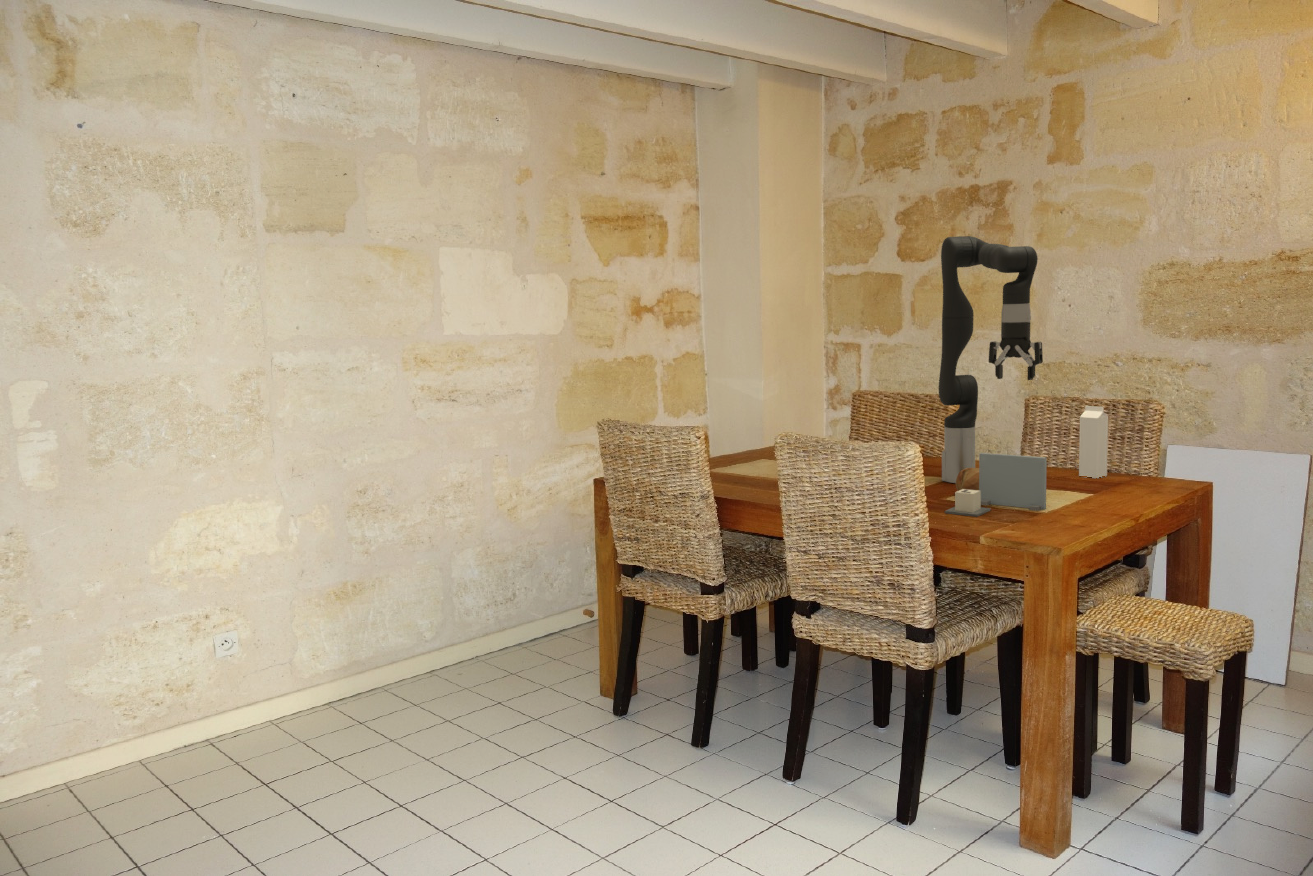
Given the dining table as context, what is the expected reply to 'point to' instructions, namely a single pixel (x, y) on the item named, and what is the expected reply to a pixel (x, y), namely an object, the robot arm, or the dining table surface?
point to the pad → (976, 513)
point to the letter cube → (968, 500)
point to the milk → (1093, 442)
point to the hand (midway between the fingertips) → (1015, 379)
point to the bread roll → (968, 479)
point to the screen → (1013, 480)
